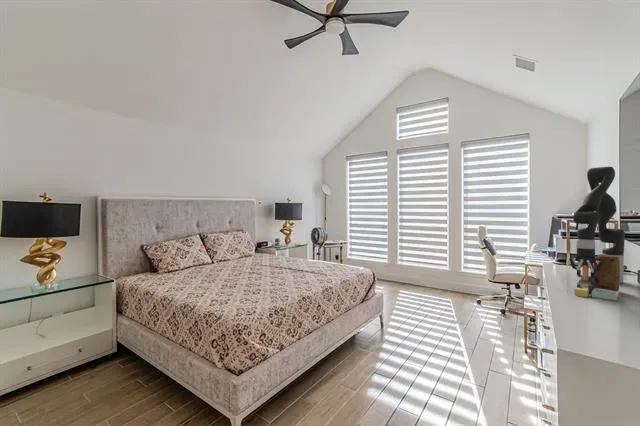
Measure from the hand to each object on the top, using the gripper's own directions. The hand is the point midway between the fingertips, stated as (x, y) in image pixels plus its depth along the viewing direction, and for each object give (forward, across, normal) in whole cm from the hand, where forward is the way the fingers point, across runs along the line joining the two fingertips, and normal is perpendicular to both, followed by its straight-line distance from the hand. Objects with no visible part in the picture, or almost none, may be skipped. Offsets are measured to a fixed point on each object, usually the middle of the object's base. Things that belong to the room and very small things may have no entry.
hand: (585, 277), depth 156 cm
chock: (+8, 0, +10) cm, 13 cm away
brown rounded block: (+8, -7, -11) cm, 15 cm away
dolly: (+8, 0, -1) cm, 8 cm away
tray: (+8, -8, +5) cm, 13 cm away
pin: (+3, 0, 0) cm, 3 cm away
